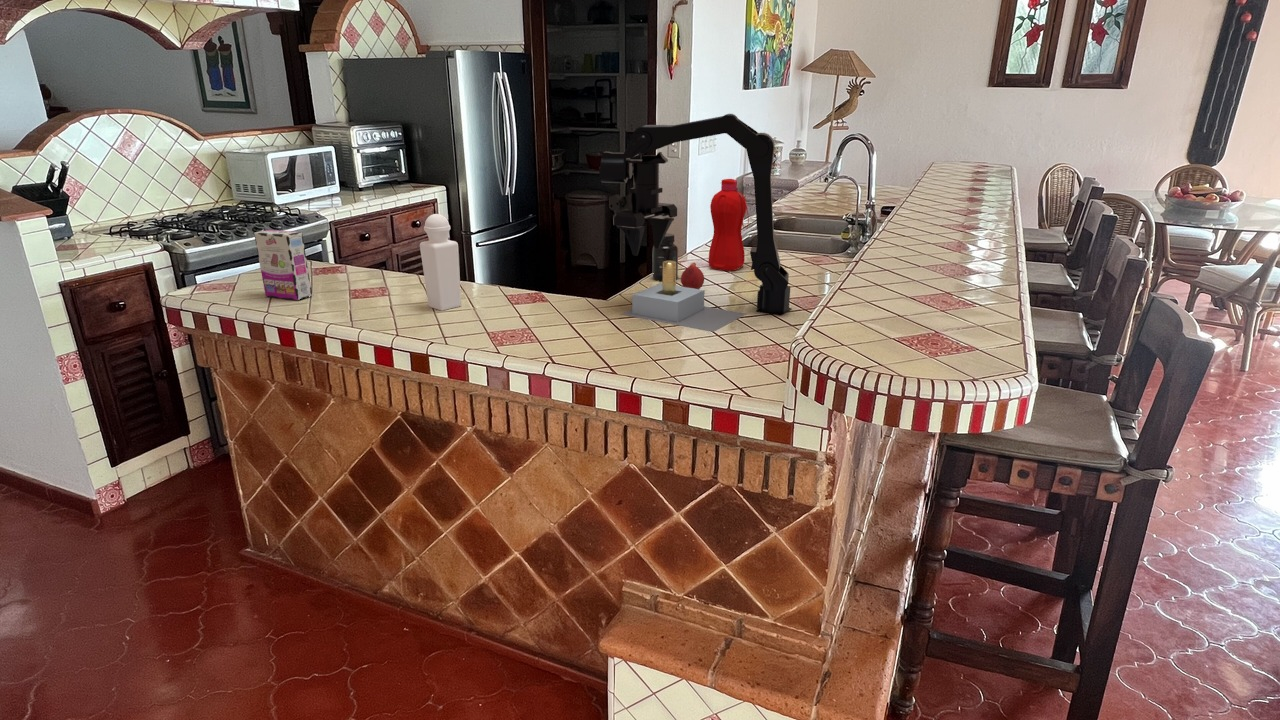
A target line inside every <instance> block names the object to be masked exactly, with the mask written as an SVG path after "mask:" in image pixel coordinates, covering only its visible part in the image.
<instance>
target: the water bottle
mask: <svg viewBox="0 0 1280 720" xmlns="http://www.w3.org/2000/svg"><path fill="white" fill-rule="evenodd" d="M720 184H721V189H720V190H719V191H718V192H716V193H714V195H713V196H712V199H711V200H710V206H709V208H710V214H711V215H710V216H711V221H712V226H713V235H712V238H711V239H712V240H711V243H710V246H709V247H710V248H709V253H708V260H707V261H708V262H707V263H708V267H709V268H711V269H713V270H719V271H726V272H727V271H728V272H730V271H731V272H732V271H736V270H738V269H741V268H742V267H743V266H744V265H745V261H746V260H745V258H746V257H745V248H744V242H743V235H742V228H743V229H746V228H748V227H749V223H750V222H749V221H750V219H749V216H747V227H745V226H744V219H745V216H746V214H747V215H749V211H748V210H749V209H748V206H747V201H746V197H745V196H744V194H743V193H742V192H740V191H739V187H738V180H737V179H733V178H724V179H721V183H720ZM746 212H747V213H746Z"/></svg>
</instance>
